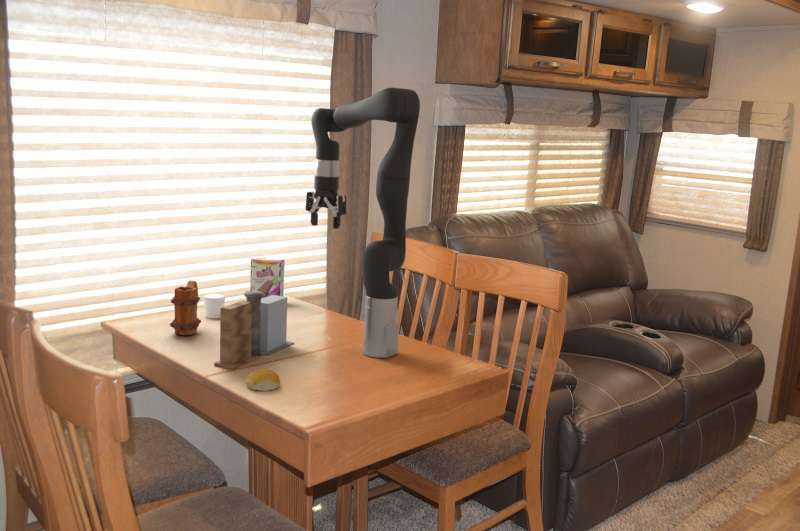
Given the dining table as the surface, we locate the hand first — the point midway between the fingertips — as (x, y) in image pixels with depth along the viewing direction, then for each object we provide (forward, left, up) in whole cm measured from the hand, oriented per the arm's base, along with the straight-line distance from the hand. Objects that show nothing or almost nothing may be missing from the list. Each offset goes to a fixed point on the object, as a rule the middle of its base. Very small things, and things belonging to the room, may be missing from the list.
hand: (325, 227), depth 234 cm
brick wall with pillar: (-3, +39, -33) cm, 51 cm away
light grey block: (-1, +25, -33) cm, 41 cm away
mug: (+28, +30, -33) cm, 53 cm away
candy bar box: (+36, -13, -33) cm, 51 cm away
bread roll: (-22, +50, -34) cm, 64 cm away
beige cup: (+36, +12, -33) cm, 50 cm away
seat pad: (-1, +25, -33) cm, 41 cm away
